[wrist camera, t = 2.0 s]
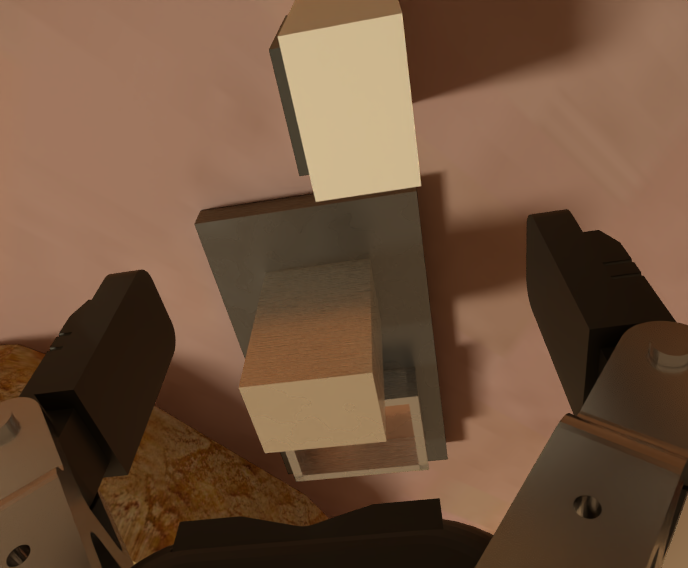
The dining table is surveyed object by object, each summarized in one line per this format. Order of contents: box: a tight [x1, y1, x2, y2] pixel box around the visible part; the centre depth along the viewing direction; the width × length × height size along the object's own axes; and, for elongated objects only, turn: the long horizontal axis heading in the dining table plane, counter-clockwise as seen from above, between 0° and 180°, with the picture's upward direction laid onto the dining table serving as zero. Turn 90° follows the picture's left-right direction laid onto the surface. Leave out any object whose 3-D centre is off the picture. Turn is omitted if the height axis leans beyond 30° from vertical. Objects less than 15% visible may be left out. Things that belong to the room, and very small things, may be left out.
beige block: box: [269, 0, 421, 202], centre depth 24 cm, size 5×6×9 cm
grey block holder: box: [195, 187, 448, 482], centre depth 34 cm, size 12×22×10 cm, turn 10°
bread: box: [0, 344, 329, 565], centre depth 43 cm, size 36×11×10 cm, turn 45°
